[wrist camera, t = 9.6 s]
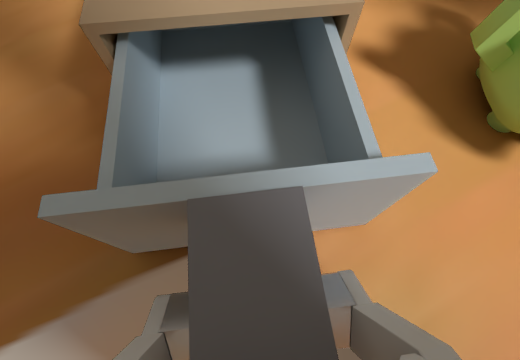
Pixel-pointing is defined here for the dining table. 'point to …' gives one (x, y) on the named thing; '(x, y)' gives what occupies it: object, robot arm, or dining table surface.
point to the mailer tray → (239, 175)
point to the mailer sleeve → (203, 17)
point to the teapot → (500, 64)
